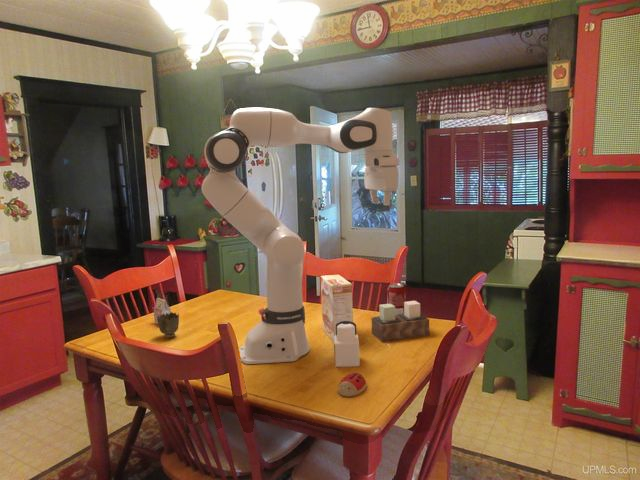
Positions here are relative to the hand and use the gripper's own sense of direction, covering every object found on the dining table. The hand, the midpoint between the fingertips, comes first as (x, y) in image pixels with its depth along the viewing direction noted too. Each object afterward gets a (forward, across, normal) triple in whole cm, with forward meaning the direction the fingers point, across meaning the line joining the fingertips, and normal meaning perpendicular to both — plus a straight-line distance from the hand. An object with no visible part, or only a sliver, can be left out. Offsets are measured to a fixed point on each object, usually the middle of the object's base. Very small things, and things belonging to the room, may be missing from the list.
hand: (380, 204), depth 154 cm
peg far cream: (+40, -1, +10) cm, 41 cm away
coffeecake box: (+44, -8, -14) cm, 47 cm away
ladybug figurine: (+45, +32, -22) cm, 59 cm away
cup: (+44, -27, -70) cm, 87 cm away
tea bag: (+44, -43, -73) cm, 95 cm away
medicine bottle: (+44, +15, -18) cm, 50 cm away
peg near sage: (+40, -1, +1) cm, 40 cm away
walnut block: (+44, -1, +6) cm, 45 cm away
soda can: (+45, -20, +13) cm, 51 cm away
